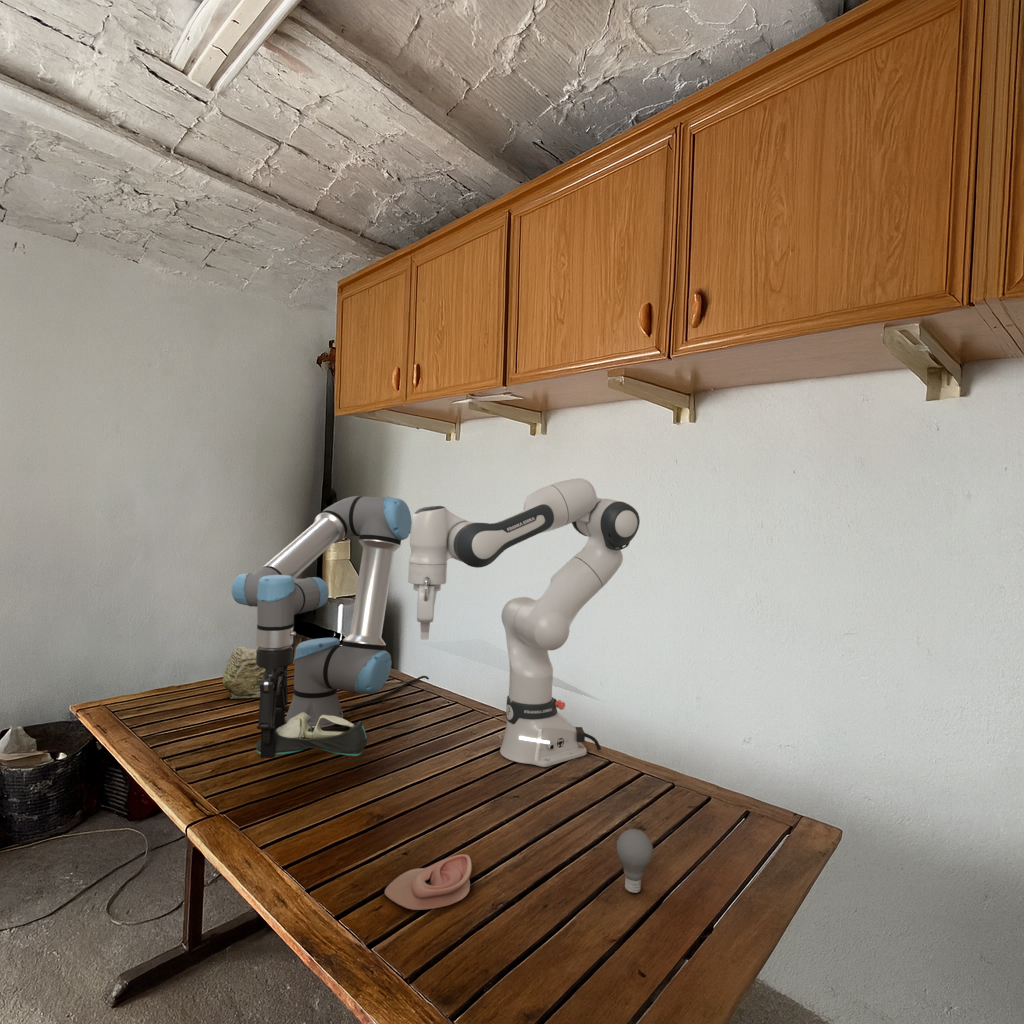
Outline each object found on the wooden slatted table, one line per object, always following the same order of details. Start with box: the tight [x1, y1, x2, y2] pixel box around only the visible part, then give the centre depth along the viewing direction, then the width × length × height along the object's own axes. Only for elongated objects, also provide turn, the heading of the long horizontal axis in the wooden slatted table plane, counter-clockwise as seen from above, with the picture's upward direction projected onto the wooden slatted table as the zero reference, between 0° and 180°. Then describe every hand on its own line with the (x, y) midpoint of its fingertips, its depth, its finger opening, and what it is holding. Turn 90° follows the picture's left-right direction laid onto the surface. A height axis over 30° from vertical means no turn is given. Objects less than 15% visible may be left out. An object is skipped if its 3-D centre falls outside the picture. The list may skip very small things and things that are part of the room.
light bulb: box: [615, 828, 654, 894], centre depth 106 cm, size 6×6×10 cm
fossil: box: [222, 646, 266, 699], centre depth 198 cm, size 9×18×15 cm, turn 132°
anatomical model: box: [384, 853, 473, 911], centre depth 104 cm, size 13×4×12 cm
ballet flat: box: [254, 712, 368, 757], centre depth 140 cm, size 8×24×8 cm, turn 96°
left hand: (272, 748), depth 139 cm, fingers closed on ballet flat, 8 cm apart
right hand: (425, 634), depth 148 cm, fingers open, 8 cm apart
